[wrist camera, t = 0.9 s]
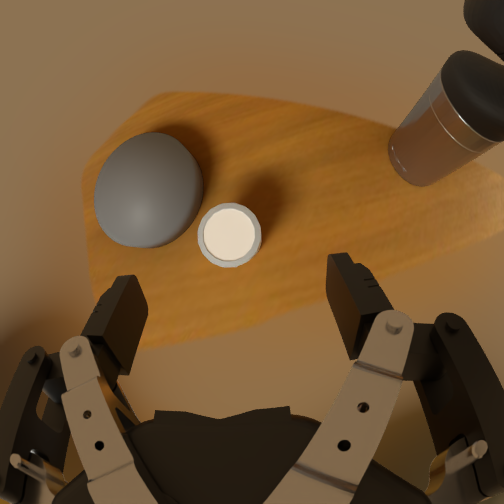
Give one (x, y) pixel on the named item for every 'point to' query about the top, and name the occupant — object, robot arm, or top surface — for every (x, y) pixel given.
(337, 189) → the top surface
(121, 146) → the stand
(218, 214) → the white cup
